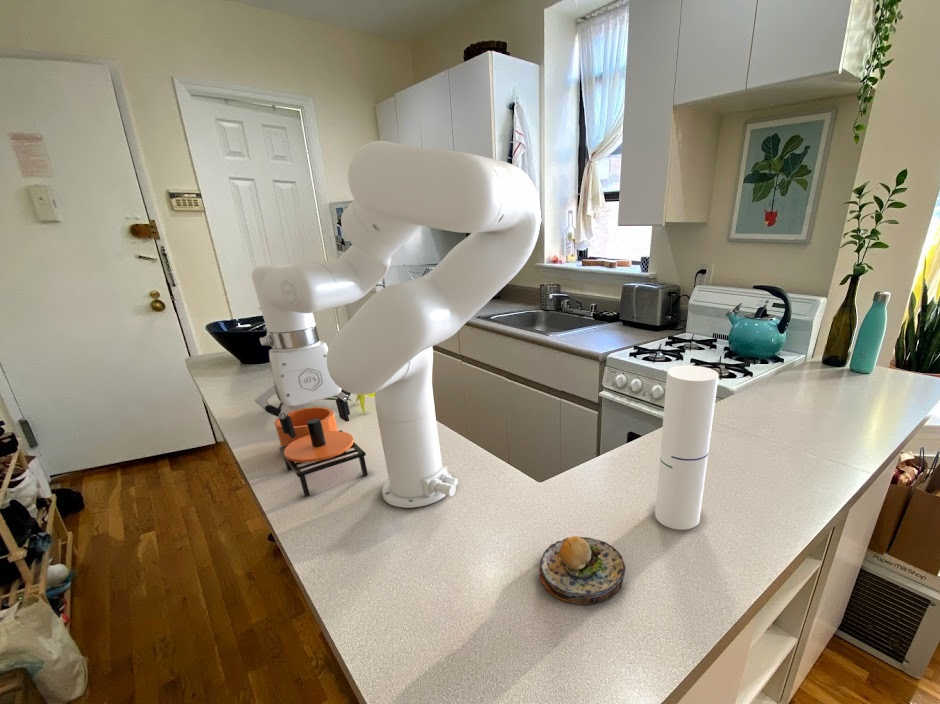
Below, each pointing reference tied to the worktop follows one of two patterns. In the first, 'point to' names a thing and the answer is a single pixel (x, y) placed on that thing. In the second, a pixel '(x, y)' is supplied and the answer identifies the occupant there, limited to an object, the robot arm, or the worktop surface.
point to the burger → (582, 570)
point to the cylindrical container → (685, 444)
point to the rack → (301, 474)
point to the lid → (318, 444)
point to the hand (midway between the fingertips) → (319, 427)
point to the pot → (300, 422)
